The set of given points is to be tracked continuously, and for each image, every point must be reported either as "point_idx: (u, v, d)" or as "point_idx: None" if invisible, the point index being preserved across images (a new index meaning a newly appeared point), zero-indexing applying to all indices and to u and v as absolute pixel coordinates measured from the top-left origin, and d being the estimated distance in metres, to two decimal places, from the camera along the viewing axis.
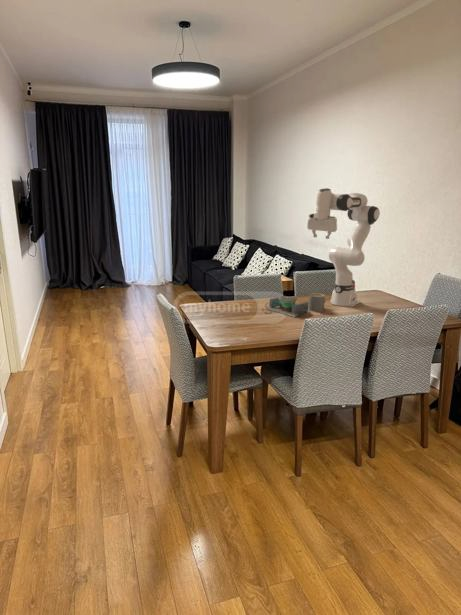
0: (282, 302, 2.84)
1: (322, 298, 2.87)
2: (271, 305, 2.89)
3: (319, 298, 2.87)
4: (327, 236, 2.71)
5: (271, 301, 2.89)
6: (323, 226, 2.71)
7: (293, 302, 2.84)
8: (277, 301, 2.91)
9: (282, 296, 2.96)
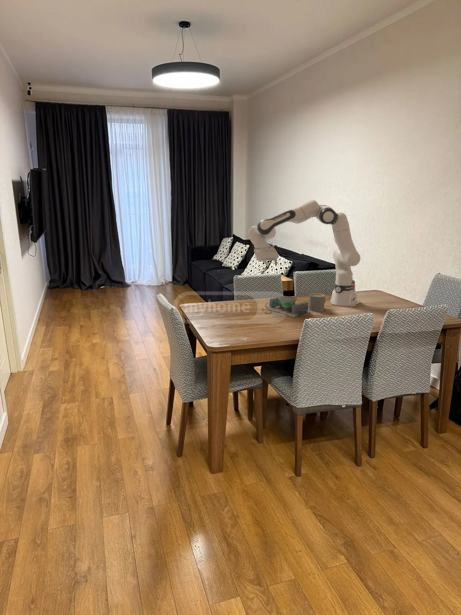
0: (282, 302, 2.84)
1: (322, 298, 2.87)
2: (271, 305, 2.89)
3: (319, 298, 2.87)
4: None
5: (271, 301, 2.89)
6: None
7: (293, 302, 2.84)
8: (277, 301, 2.91)
9: (282, 296, 2.96)
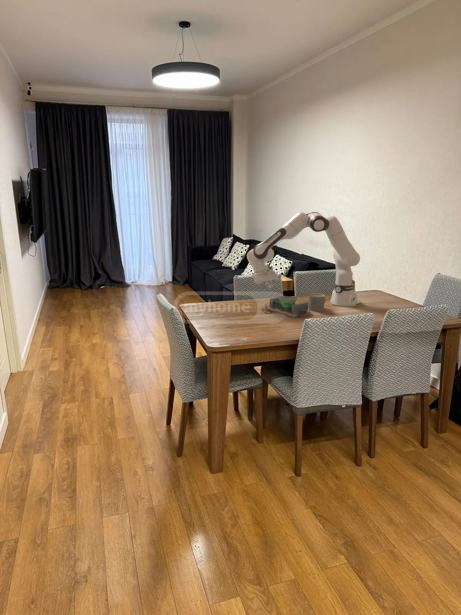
0: (282, 302, 2.84)
1: (322, 298, 2.87)
2: (271, 305, 2.89)
3: (319, 298, 2.87)
4: (268, 286, 2.96)
5: (271, 301, 2.89)
6: None
7: (293, 302, 2.84)
8: (277, 301, 2.91)
9: (282, 296, 2.96)
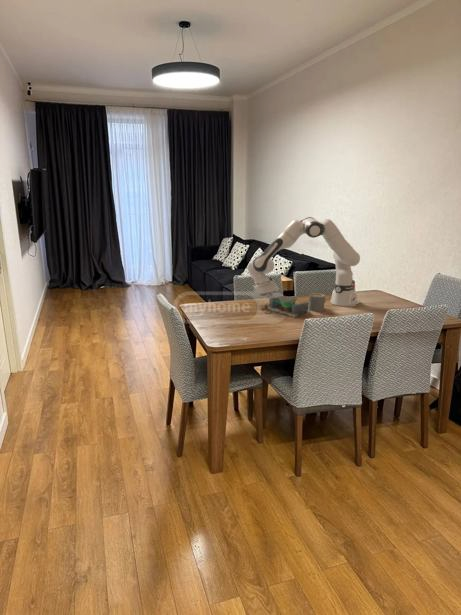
0: (282, 302, 2.84)
1: (322, 298, 2.87)
2: (271, 305, 2.89)
3: (319, 298, 2.87)
4: (269, 298, 2.98)
5: (271, 301, 2.89)
6: None
7: (293, 302, 2.84)
8: (277, 301, 2.91)
9: (282, 296, 2.96)
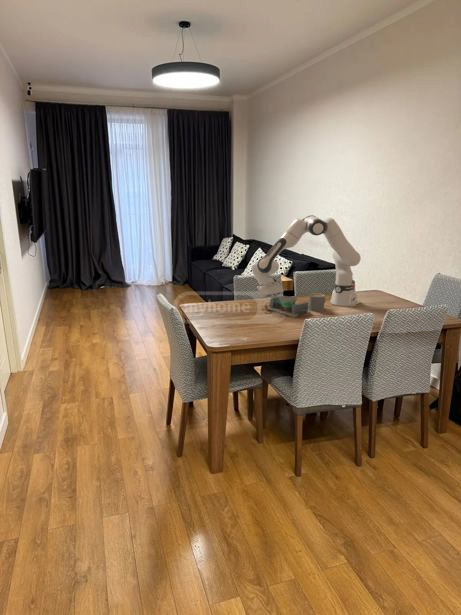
0: (282, 302, 2.84)
1: (322, 298, 2.87)
2: (271, 305, 2.89)
3: (319, 298, 2.87)
4: None
5: (272, 301, 2.88)
6: None
7: (293, 302, 2.84)
8: (277, 301, 2.91)
9: (282, 296, 2.96)
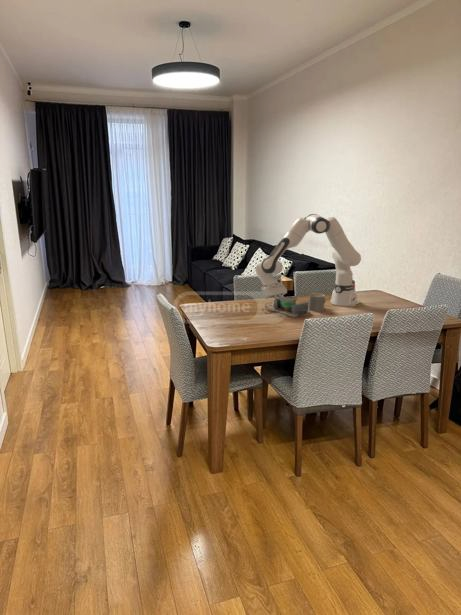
0: (282, 302, 2.84)
1: (322, 298, 2.87)
2: (275, 306, 2.87)
3: (319, 298, 2.87)
4: None
5: (275, 302, 2.86)
6: None
7: (293, 302, 2.84)
8: None
9: None
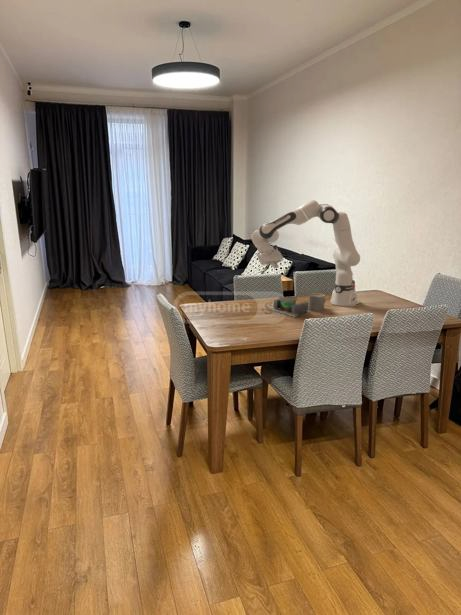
0: (282, 302, 2.84)
1: (322, 298, 2.87)
2: (275, 306, 2.87)
3: (319, 298, 2.87)
4: None
5: (275, 302, 2.86)
6: None
7: (293, 302, 2.84)
8: None
9: None
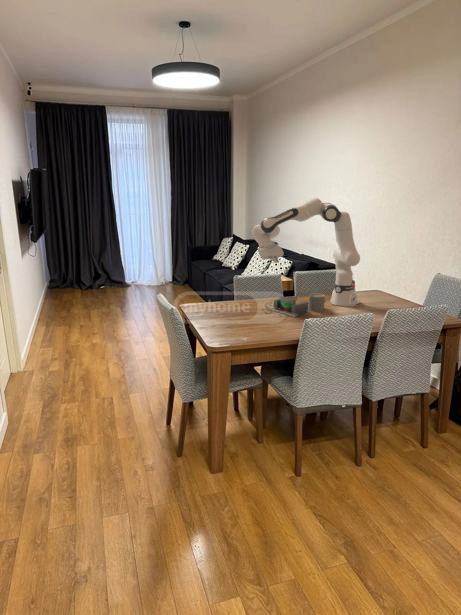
0: (282, 302, 2.84)
1: (322, 298, 2.87)
2: (275, 306, 2.87)
3: (319, 298, 2.87)
4: None
5: (275, 302, 2.86)
6: None
7: (293, 302, 2.84)
8: None
9: None
